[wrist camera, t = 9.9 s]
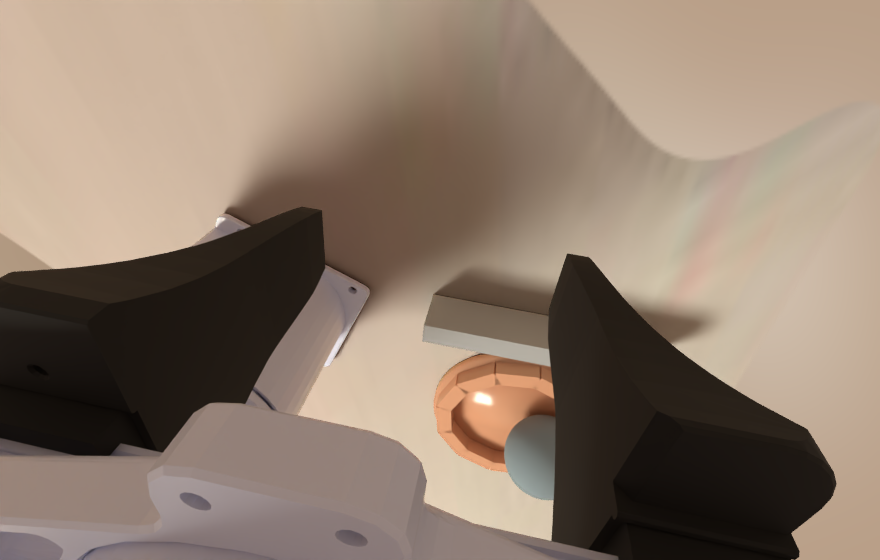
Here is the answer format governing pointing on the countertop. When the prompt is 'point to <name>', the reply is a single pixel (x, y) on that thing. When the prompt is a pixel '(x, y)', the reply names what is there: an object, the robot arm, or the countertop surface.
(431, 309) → the acrylic wall
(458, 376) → the bowl
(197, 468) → the robot arm
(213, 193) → the countertop surface
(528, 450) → the ball
